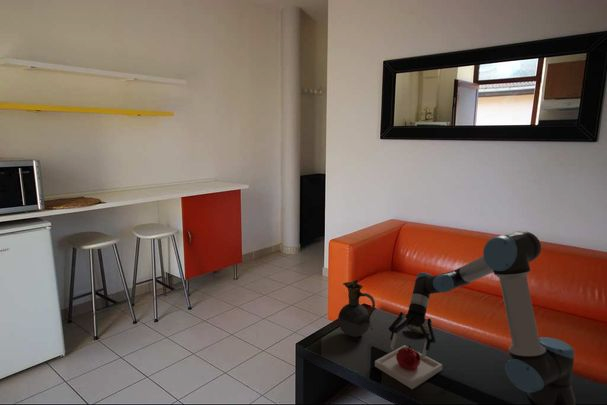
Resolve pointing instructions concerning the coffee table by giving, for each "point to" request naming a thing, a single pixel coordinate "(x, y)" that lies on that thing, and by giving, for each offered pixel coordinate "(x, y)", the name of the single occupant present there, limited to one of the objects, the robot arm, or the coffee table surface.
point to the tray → (408, 377)
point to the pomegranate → (408, 358)
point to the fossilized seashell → (418, 329)
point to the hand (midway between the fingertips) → (407, 352)
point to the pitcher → (355, 313)
